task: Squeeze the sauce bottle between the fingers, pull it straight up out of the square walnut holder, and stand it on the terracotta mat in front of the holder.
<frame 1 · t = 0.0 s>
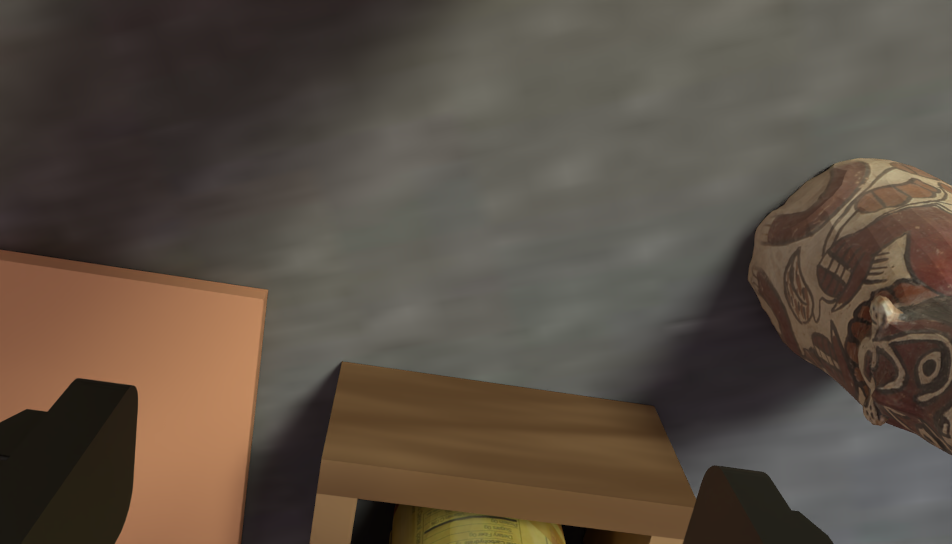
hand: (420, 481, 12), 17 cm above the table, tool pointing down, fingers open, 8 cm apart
figurine: (849, 254, 30), on the table
square holder: (474, 503, 33), on the table
terracotta mat: (96, 407, 31), on the table
sauce bottle: (474, 499, 33), resting in square holder
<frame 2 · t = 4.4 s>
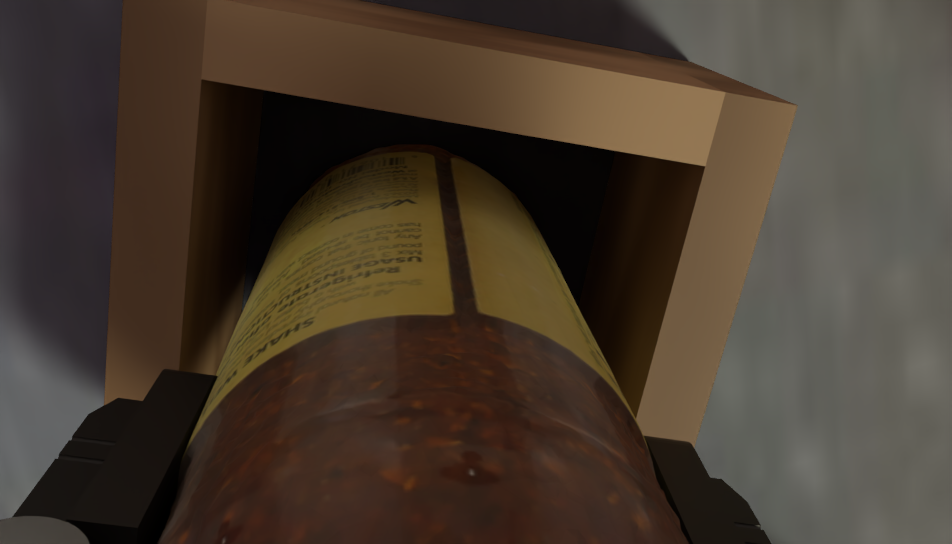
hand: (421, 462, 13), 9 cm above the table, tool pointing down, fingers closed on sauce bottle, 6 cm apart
square holder: (419, 264, 21), on the table
sauce bottle: (419, 261, 21), resting in square holder, touching gripper
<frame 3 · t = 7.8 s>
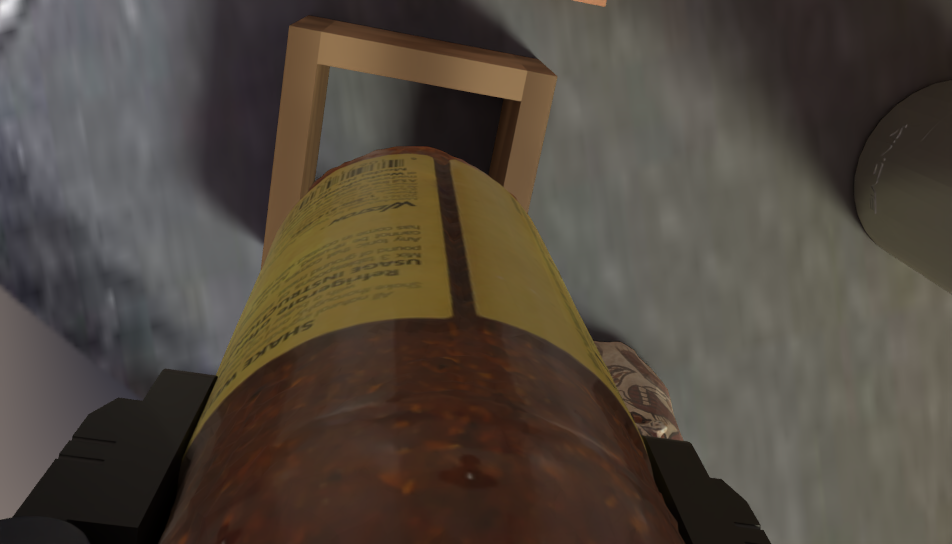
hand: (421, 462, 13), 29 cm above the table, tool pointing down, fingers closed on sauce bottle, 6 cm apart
figurine: (596, 400, 46), on the table
square holder: (404, 160, 41), on the table
sauce bottle: (418, 263, 21), point 21 cm above the table, touching gripper
when the fingers open (11 cm above the table, at t = 11.6 s): sauce bottle drops 1 cm, resting on terracotta mat.
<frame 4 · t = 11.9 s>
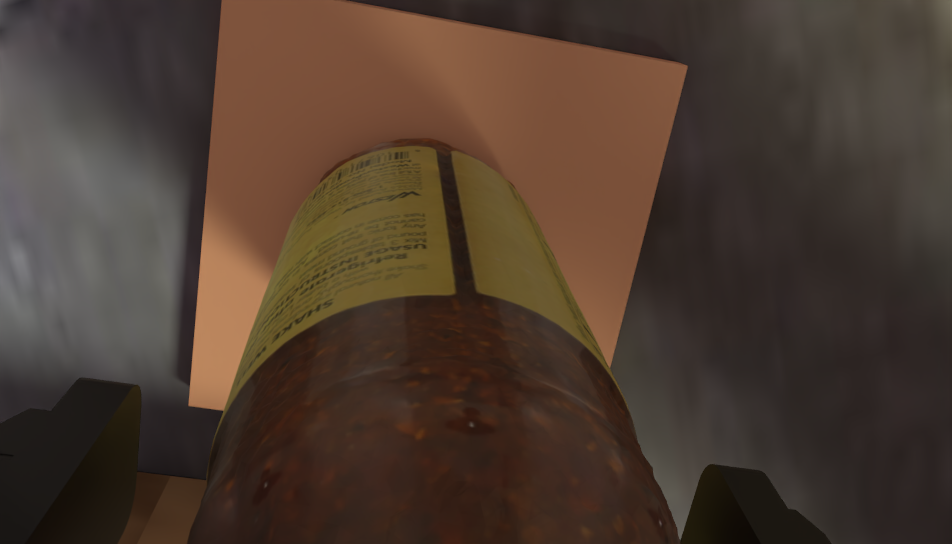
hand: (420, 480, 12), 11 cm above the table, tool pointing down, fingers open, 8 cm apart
terracotta mat: (424, 235, 23), on the table
sauce bottle: (423, 247, 22), point 1 cm above the table, touching terracotta mat
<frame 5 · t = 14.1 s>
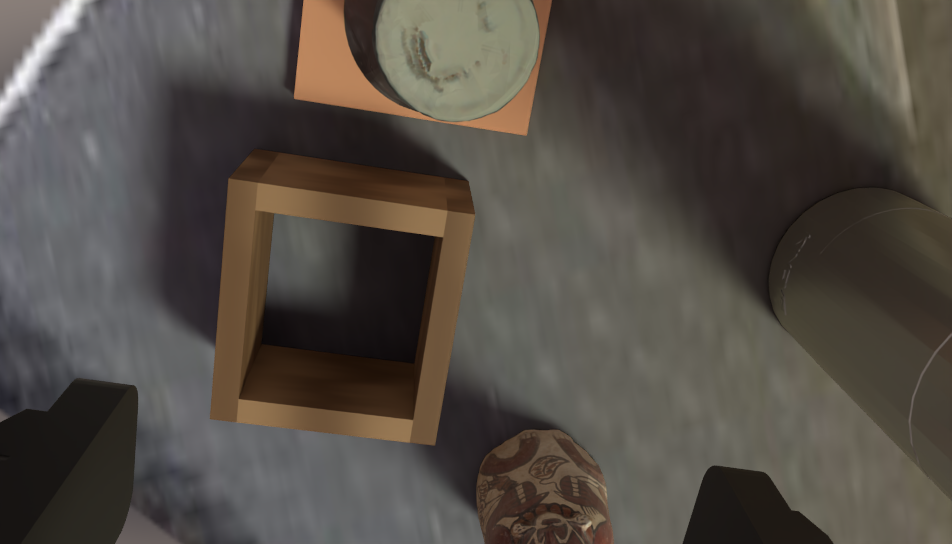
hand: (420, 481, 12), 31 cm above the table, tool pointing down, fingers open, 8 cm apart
figurine: (538, 482, 49), on the table
square holder: (348, 274, 44), on the table
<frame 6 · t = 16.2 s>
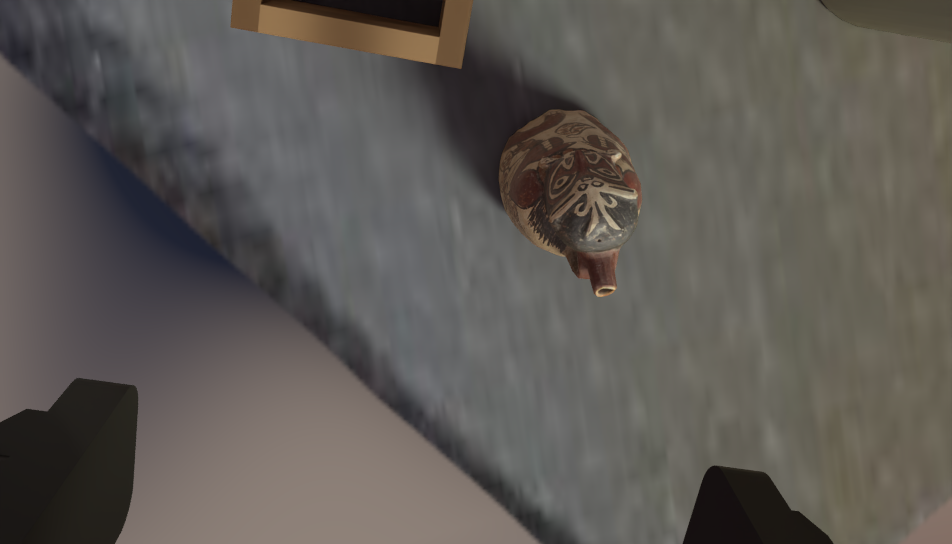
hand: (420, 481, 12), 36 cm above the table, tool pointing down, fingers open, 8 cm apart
figurine: (562, 173, 48), on the table
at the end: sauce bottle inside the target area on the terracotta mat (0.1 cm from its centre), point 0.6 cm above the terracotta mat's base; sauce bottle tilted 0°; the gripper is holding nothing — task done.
